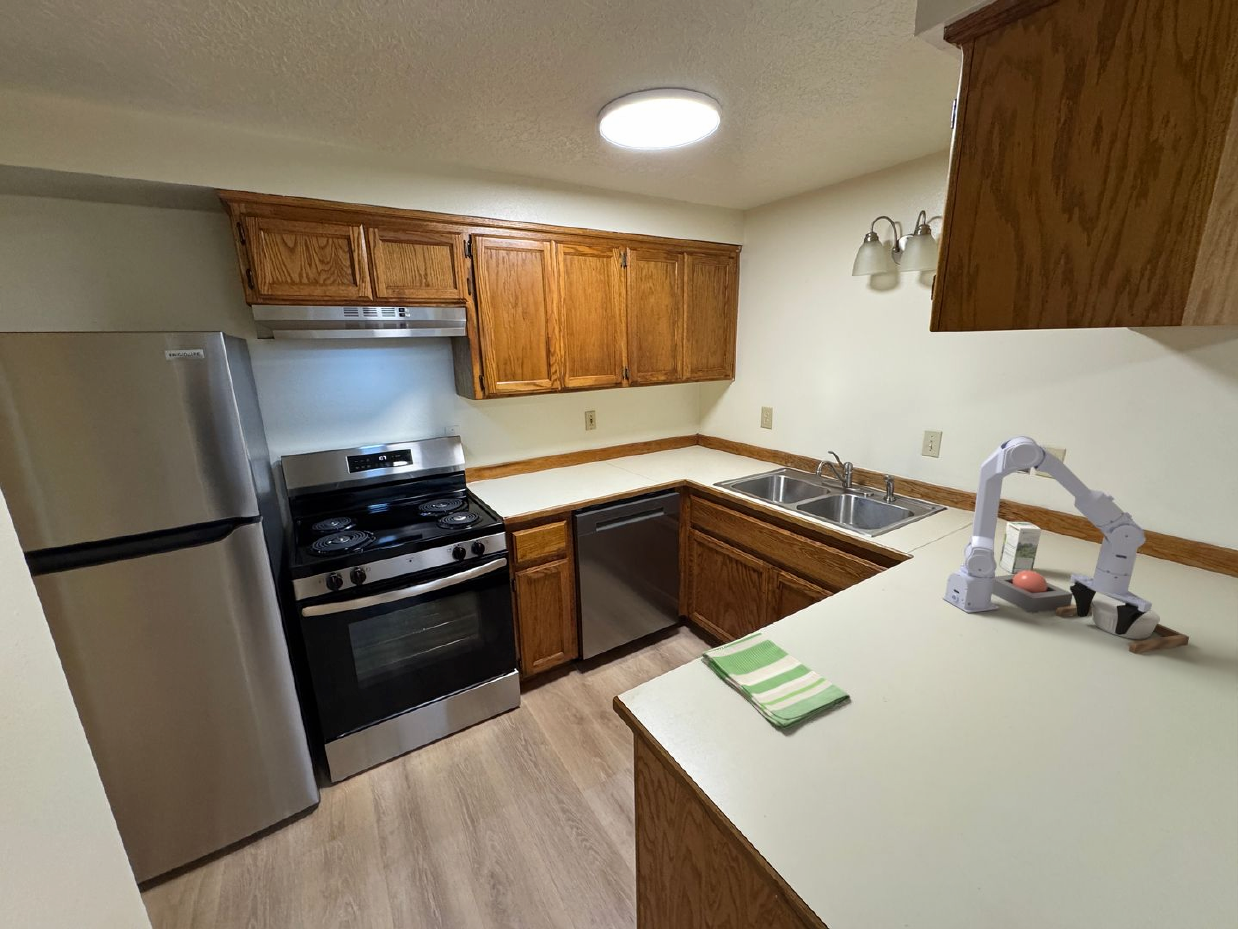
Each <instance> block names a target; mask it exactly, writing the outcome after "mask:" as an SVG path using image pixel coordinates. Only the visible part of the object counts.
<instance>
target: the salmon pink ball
mask: <svg viewBox="0 0 1238 929" xmlns="http://www.w3.org/2000/svg"><path fill="white" fill-rule="evenodd" d="M1047 583H1048V582H1047V580H1046V578H1045V577H1044V576H1043V575H1042V574H1040V573H1038V572H1036V571H1033V570H1032V571H1021V572H1019V573H1017V574H1016V575H1015V576H1014V578H1013V585H1015V586H1017V587H1019V588H1022V589H1024V590H1026V591H1028V592H1030V593H1040V592H1046V591H1047V587H1048V586H1047Z"/></svg>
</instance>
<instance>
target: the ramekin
mask: <svg viewBox="0 0 1238 929" xmlns="http://www.w3.org/2000/svg"><path fill="white" fill-rule="evenodd" d="M1119 605H1125V603H1123V602H1120V601H1118V600H1116V599H1113V598H1111V597H1108V596H1105V597H1095V598H1093V600H1092V602H1091V606H1092V613H1091V620H1092V622H1093V623H1094V624H1095V625H1096V626H1097V627H1098V628H1099V629H1101V630H1103V631H1105V632H1106V633H1110V634H1112V635H1114V636H1119V637H1121V638H1125V639H1131V640H1146V639H1147V638H1149V637H1151V636H1152V634H1153V633H1154V632H1153V630H1154V629H1155V627H1156V625H1157V624H1160V620H1161V618H1160V616H1159V615H1160V614H1158V613H1157V612H1155V611H1154V610H1152V609H1151V610H1150V611H1148V612H1146V613H1145V614H1143V615H1142V616H1141V617H1139V618H1138V619H1137V620H1136V621H1135V622H1134V623H1133V624H1132V625H1131V627H1130V628H1129V629H1128V631H1127V633H1126V634H1123V635H1118V634H1116V633H1115V628H1116V624H1117V619H1118V613H1117V606H1119Z"/></svg>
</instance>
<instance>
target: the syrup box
mask: <svg viewBox="0 0 1238 929" xmlns="http://www.w3.org/2000/svg"><path fill="white" fill-rule="evenodd" d="M1041 531H1042V529H1041V528H1040V527H1039V526H1037V525H1036V524H1033V523H1031V522H1027V521H1006V527H1005V531H1004V532H1005V533H1004V538H1003V543H1002V547H1001V552H1000V558H999V563H998V565H999V567H1000V568H1002V569H1004V570H1005V571H1007V572H1009V573H1010V574H1013V575H1014V574H1017V573H1019V572H1021V571H1033V569H1034V565H1035V561H1036V556H1037V551H1038V548H1039V543H1040V537H1041V533H1042V532H1041Z"/></svg>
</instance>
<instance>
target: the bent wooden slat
mask: <svg viewBox="0 0 1238 929" xmlns="http://www.w3.org/2000/svg"><path fill="white" fill-rule="evenodd" d="M1088 614H1092V606H1090V610H1089V613H1088ZM1070 615H1073V616H1078V615H1077V607H1076V604H1075V605H1070V606H1067V607H1060V608H1057V610H1056V612H1055V616H1057V617H1058V618H1063V617H1065V616H1066V617H1071V616H1070ZM1154 632H1155V633H1154ZM1152 633H1154V634H1156V633H1157V634H1156V635H1159V636H1161V637H1156V638H1150V639H1142V640H1137V641H1132V642H1129V646H1128V647H1129V648H1128V652H1131V651H1132V652H1131V653H1133V654H1137V653H1138V652H1139V653H1145V652H1150V651H1149V650H1152V651H1157V650H1165V649H1170V648H1176V647H1183V646H1187V645H1188V644H1189V640H1190V636H1188V635H1186V634H1184V633H1182V632H1179V631H1178V630H1177V631H1176V630H1174V629H1173V628H1172V629H1171V628H1169V627H1168V626H1165V625H1162V624H1160V623H1158V624H1157V625H1156V627H1155V629H1154V630H1153V632H1152ZM1144 651H1145V652H1144ZM1139 653H1138V654H1139Z"/></svg>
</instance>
